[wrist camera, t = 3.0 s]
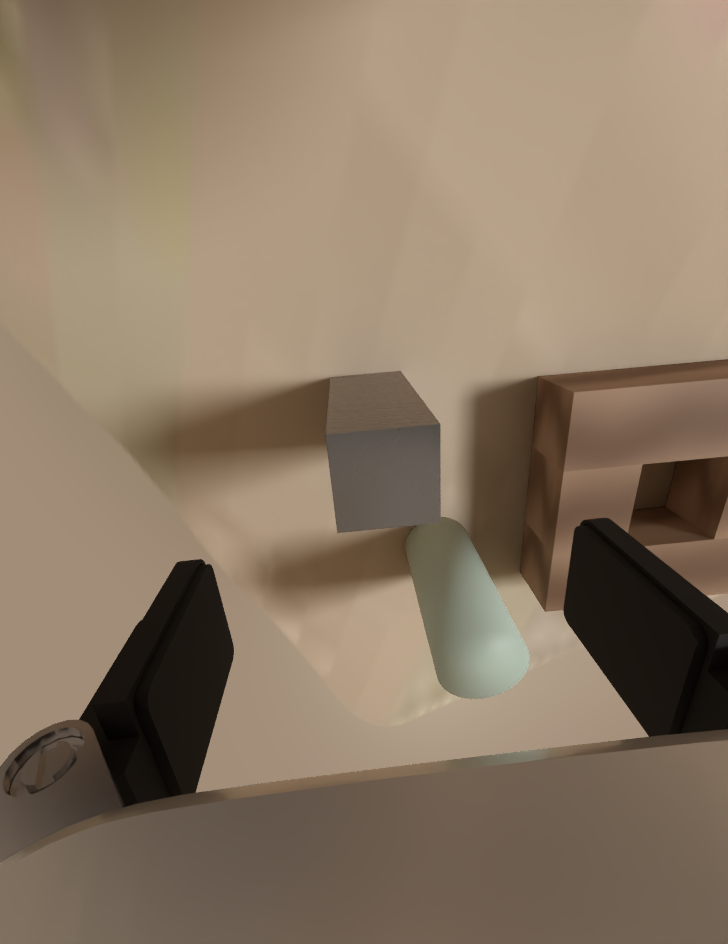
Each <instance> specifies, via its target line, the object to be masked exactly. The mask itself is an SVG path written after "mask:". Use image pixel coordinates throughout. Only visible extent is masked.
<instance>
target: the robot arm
mask: <svg viewBox="0 0 728 944" xmlns="http://www.w3.org/2000/svg"><path fill="white" fill-rule="evenodd" d="M563 610H564V616H565V619H566V621H567V623H568V624H569V626H570V627H571V628H572V630H573V631H574V633H575V634H576V635H577V637H578V638H579V640H580V641H581V642H582V644H583V645H584V646H585V648H586V649H587V651H588V652H589V653H590V655H591V656H592V658H593V659H594V660H595V662H596V663H597V665H598V666H599V667H600V669H601V670H602V671H603V673H604V674H605V676H606V677H607V678H608V680H609V681H610V683H611V684H612V685H613V687H614V688H615V690H616V691H617V692H618V694H619V695H620V697H621V698H622V699H623V701H624V702H625V703H626V705H627V706H628V708H629V709H630V710H631V712H632V713H633V715H634V716H635V717H636V719H637V720H638V721H639V723H640V724H641V726H642V727H643V729H644V730H645V731H646V733H647V734H648V736H649V737H644V738H636V739H626V740H618V741H608V742H601V743H592V744H583V745H573V746H565V747H557V748H547V749H538V750H530V751H521V752H513V753H504V754H496V755H488V756H479V757H471V758H462V759H454V760H446V761H437V762H429V763H421V764H412V765H404V766H396V767H388V768H380V769H372V770H364V771H357V772H348V773H340V774H332V775H324V776H316V777H308V778H301V779H292V780H284V781H277V782H268V783H261V784H254V785H248V786H241V787H234V788H227V789H219V790H212V791H206V792H198V793H195V792H196V789H197V785H198V782H199V778H200V774H201V771H202V767H203V764H204V760H205V757H206V753H207V749H208V746H209V743H210V739H211V735H212V732H213V728H214V725H215V721H216V718H217V714H218V711H219V707H220V704H221V700H222V696H223V693H224V689H225V686H226V682H227V679H228V675H229V672H230V668H231V664H232V661H233V655H234V647H233V642H232V638H231V634H230V631H229V627H228V623H227V620H226V616H225V612H224V608H223V604H222V601H221V597H220V593H219V589H218V586H217V582H216V578H215V574H214V571H213V568H212V566H211V565H210V564H207V565H205V562H204V561H203V560H201V559H200V560H190V561H180V562H177V563H176V565H175V566H174V568H173V570H172V571H171V573H170V575H169V577H168V578H167V580H166V581H165V583H164V585H163V586H162V588H161V590H160V591H159V593H158V595H157V596H156V598H155V600H154V601H153V603H152V605H151V607H150V608H149V610H148V611H147V613H146V615H145V616H144V618H143V620H141V621H140V622H139V623H138V624H137V625H136V627H135V628H134V630H133V632H132V634H131V635H130V637H129V638H128V640H127V642H126V643H125V645H124V647H123V648H122V650H121V652H120V653H119V655H118V657H117V658H116V660H115V661H114V663H113V665H112V667H111V668H110V670H109V672H108V673H107V675H106V676H105V678H104V680H103V681H102V683H101V685H100V686H99V688H98V689H97V692H96V693H95V694H94V696H93V698H92V700H91V701H90V703H89V704H88V706H87V708H86V709H85V711H84V713H83V714H82V716H81V718H80V719H79V720H66V721H63V722H60V723H56V724H53V725H51V726H49V727H47V728H45V729H43V730H41V731H39V732H37V733H36V734H34V735H33V736H31V737H30V738H28V739H27V740H25V741H24V742H23V743H22V744H21V745H20V746H19V747H17V748H16V749H15V750H14V751H13V752H12V753H11V754H10V755H9V756H8V758H7V759H6V760H5V761H4V763H3V764H2V765H1V766H0V944H728V613H727V612H726V611H725V610H723V609H722V608H721V607H720V606H718V605H717V604H716V603H714V602H713V601H712V600H711V599H710V598H708V597H707V596H706V595H705V594H703V593H702V592H701V591H700V590H698V589H697V588H696V587H695V586H693V585H692V584H691V583H690V582H688V581H687V580H686V579H685V578H683V577H682V576H681V575H680V574H678V573H677V572H676V571H675V570H673V569H672V568H671V567H670V566H668V565H667V564H666V563H665V562H663V561H662V560H661V559H660V558H658V557H657V556H656V555H655V554H653V553H652V552H651V551H650V550H648V549H647V548H646V547H645V546H643V545H642V544H641V543H640V542H638V541H637V540H636V539H635V538H633V537H632V536H631V535H630V534H628V533H627V532H626V531H625V530H623V529H622V528H621V527H620V526H618V525H617V524H616V523H615V522H613V521H612V520H611V519H609V518H596V519H586V520H583V521H582V522H581V523H580V526H577V527H576V528H575V530H574V535H573V542H572V549H571V557H570V564H569V571H568V578H567V586H566V593H565V600H564V609H563Z"/></svg>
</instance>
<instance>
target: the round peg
mask: <svg viewBox="0 0 728 944" xmlns="http://www.w3.org/2000/svg"><path fill="white" fill-rule="evenodd" d="M405 552H406V556H407V560H408V564H409V568H410V572H411V575H412V579H413V583H414V587H415V591H416V595H417V599H418V603H419V607H420V611H421V615H422V619H423V623H424V627H425V631H426V635H427V639H428V642H429V646H430V650H431V654H432V658H433V662H434V666H435V670H436V674H437V678H438V680H439V682H440V684H441V685H442V687H443V688H444V689H445V690H447V691H448V692H450V693H451V694H453V695H456V696H458V697H462V698H469V699H482V698H488V697H492V696H495V695H498V694H501V693H503V692H505V691H507V690H509V689H510V688H511V687H513V686H514V685H516V684H517V683H518V682H519V681H520V680H521V679H522V678H523V676H524V675H525V673H526V671H527V669H528V667H529V662H530V655H529V651H528V648H527V646H526V644H525V642H524V641H523V639H522V637H521V635H520V633H519V631H518V629H517V627H516V625H515V623H514V621H513V620H512V618H511V616H510V614H509V612H508V610H507V608H506V606H505V604H504V602H503V600H502V599H501V597H500V595H499V593H498V591H497V589H496V587H495V585H494V583H493V581H492V579H491V578H490V576H489V574H488V572H487V570H486V568H485V566H484V564H483V562H482V560H481V558H480V557H479V555H478V553H477V551H476V549H475V547H474V545H473V543H472V541H471V539H470V537H469V536H468V534H467V532H466V530H465V528H464V527H463V526H462V525H461V524H460V523H459V522H457V521H455V520H453V519H450V518H446V517H440V523H434V524H424V525H416V526H415V527H414V528H413V529H412V530H411V531H410V533H409V534H408V536H407V539H406V542H405Z"/></svg>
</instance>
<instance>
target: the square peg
mask: <svg viewBox="0 0 728 944" xmlns="http://www.w3.org/2000/svg"><path fill="white" fill-rule="evenodd" d="M325 435H326V443H327V451H328V459H329V468H330V476H331V484H332V492H333V501H334V509H335V517H336V525H337V533H341V532H352V531H362V530H372V529H383V528H393V527H403V526H414V525H424V524H434V523H440V423H439V422H438V420H437V419H436V418H435V416H434V415H433V414H432V412H431V411H430V410H429V408H428V407H427V406H426V404H425V403H424V402H423V400H422V399H421V398H420V396H419V395H418V394H417V392H416V391H415V390H414V388H413V387H412V386H411V384H410V383H409V382H408V380H407V379H406V378H405V376H404V375H403V374H402V372H401V371H397V372H386V373H375V374H363V375H352V376H341V377H330V388H329V400H328V411H327V423H326V434H325Z"/></svg>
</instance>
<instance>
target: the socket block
mask: <svg viewBox="0 0 728 944" xmlns="http://www.w3.org/2000/svg"><path fill="white" fill-rule="evenodd" d="M673 461H677V464H676V468H675V472H674V476H673V480H672V483H671V487H670V491H669V495H668V499H667V503H666V507H658V508H648V509H638V510H633V507H634V502H635V498H636V493H637V488H638V484H639V479H640V474H641V470H642V465H643V464H652V463H662V462H673ZM596 518H609V519H611V520H612V521H613V522H615V523H616V524H617V525H618V526H620V527H621V528H622V529H623V530H625V531H626V532H627V533H628V534H630V535H631V536H632V537H633V538H635V539H636V540H637V541H638V542H640V543H641V544H642V545H643V546H645V547H646V548H647V549H648V550H650V551H651V552H652V553H653V554H655V555H656V556H657V557H658V558H660V559H661V560H662V561H663V562H665V563H666V564H667V565H668V566H670V567H671V568H672V569H673V570H675V571H676V572H677V573H678V574H680V575H681V576H682V577H683V578H685V579H686V580H687V581H688V582H690V583H691V584H692V585H693V586H695V587H696V588H697V589H698V590H700V591H701V592H702V593H703V594H705V595H715V594H725V593H728V359H727V360H716V361H705V362H694V363H683V364H672V365H661V366H649V367H638V368H627V369H616V370H605V371H594V372H583V373H572V374H560V375H549V376H538V387H537V397H536V408H535V418H534V429H533V439H532V450H531V461H530V471H529V482H528V492H527V503H526V513H525V524H524V534H523V545H522V556H521V566H520V573H521V574H522V576H523V578H524V579H525V581H526V582H527V584H528V585H529V587H530V589H531V590H532V592H533V593H534V595H535V596H536V598H537V600H538V601H539V603H540V604H541V606H542V607H543V609H544V611H545V612H547V611H557V610H563V609H564V600H565V593H566V586H567V578H568V571H569V564H570V557H571V549H572V542H573V535H574V530H575V528H576V527H577V526H580V523H581V522H582V521H583V520H586V519H596Z"/></svg>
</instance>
